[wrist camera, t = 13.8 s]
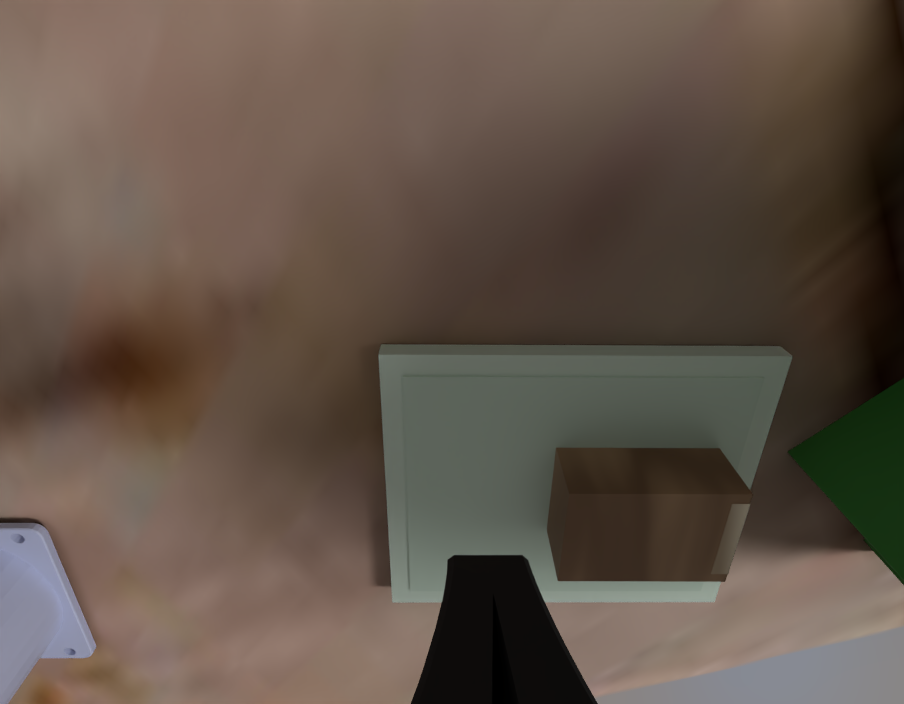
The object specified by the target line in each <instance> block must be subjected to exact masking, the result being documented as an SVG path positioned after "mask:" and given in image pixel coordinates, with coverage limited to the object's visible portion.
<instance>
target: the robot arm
mask: <svg viewBox="0 0 904 704" xmlns="http://www.w3.org/2000/svg"><path fill="white" fill-rule="evenodd" d="M95 648H96V644H95V642H94V639H93V637H92V634H91V632H90V630H89V627H88V625H87V623H86V620H85V618H84V615H83V613H82V611H81V608H80V606H79V604H78V601H77V599H76V597H75V594H74V592H73V589H72V587H71V585H70V582H69V580H68V578H67V575H66V573H65V571H64V568H63V566H62V563H61V561H60V559H59V556H58V554H57V552H56V549H55V547H54V544H53V542H52V540H51V537H50V535H49V533H48V531H47V529H46V528H45V527H44V526H42V525H40V524H37V523H0V704H8V703H9V701H10V700H11V698H12V697H13V696H14V694H15V693H16V691H17V690H18V688H19V687H20V686H21V684H22V683H23V681H24V680H25V678H26V677H27V676H28V674H29V673H30V671H31V670H32V668H33V667H34V665H35V664H36V663H37V661H38V660H39V658H87V657H89V656H91V655H92V653H93V652H94V650H95ZM411 704H598V703H597V702H596V700H595V698H594V696H593V695H592V693H591V691H590V689H589V688H588V686H587V684H586V682H585V681H584V679H583V677H582V675H581V673H580V671H579V669H578V668H577V666H576V664H575V662H574V660H573V658H572V656H571V655H570V653H569V651H568V649H567V647H566V645H565V643H564V641H563V639H562V637H561V635H560V633H559V631H558V629H557V627H556V625H555V623H554V621H553V619H552V617H551V615H550V613H549V610H548V608H547V606H546V604H545V602H544V599H543V597H542V595H541V593H540V590H539V588H538V585H537V583H536V580H535V578H534V575H533V573H532V570H531V567H530V564H529V561H528V559H526V558H525V557H524V556H523V555H453V556H452V557H451V558H449V559H448V560H447V576H446V582H445V589H444V594H443V599H442V604H441V608H440V612H439V616H438V620H437V625H436V628H435V632H434V635H433V638H432V642H431V645H430V648H429V652H428V655H427V658H426V662H425V665H424V668H423V671H422V674H421V677H420V680H419V683H418V686H417V688H416V691H415V694H414V697H413V699H412V702H411Z"/></svg>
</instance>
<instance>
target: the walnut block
mask: <svg viewBox="0 0 904 704" xmlns="http://www.w3.org/2000/svg"><path fill="white" fill-rule="evenodd" d="M752 497H753V494H752V492H751V491H750V489H749V488H748V487H747V485H746V484H745V483H744V481H743V480H742V478H741V477H740V476H739V474H738V473H737V472H736V470H735V469H734V467H733V466H732V465H731V463H730V462H729V460H728V459H727V458H726V456H725V455H724V454H723V452H722V451H721V449H720V448H556V452H555V461H554V470H553V479H552V487H551V496H550V505H549V514H548V523H547V534H548V538H549V543H550V548H551V552H552V557H553V562H554V566H555V571H556V576H557V580H558V581H659V582H725V580H726V577H727V574H728V572H729V569H730V566H731V563H732V560H733V557H734V554H735V551H736V548H737V544H738V541H739V538H740V535H741V532H742V529H743V526H744V523H745V520H746V517H747V514H748V510H749V507H750V503H751V500H752Z"/></svg>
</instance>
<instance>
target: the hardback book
mask: <svg viewBox="0 0 904 704" xmlns="http://www.w3.org/2000/svg"><path fill="white" fill-rule="evenodd" d="M788 453H789V454H790V455H791V456H792V458H793V459H794V460H795V461H796V462H797V463H798V465H799V466H800V467H801V468H802V469H803V470H804V471H805V472H806V473H807V475H808V476H809V477H810V478H811V479H812V480H813V481H814V482H815V483H816V485H817V486H818V487H819V488H820V489H821V490H822V491H823V492H824V493H825V494H826V496H827V497H828V498H829V499H830V500H831V501H832V502H833V503H834V504H835V506H836V507H837V508H838V509H839V510H840V511H841V512H842V513H843V514H844V516H845V517H846V518H847V519H848V520H849V521H850V522H851V523H852V524H853V525H854V527H855V528H856V529H857V530H858V531H859V532H860V533H861V534H862V535H863V537H864V538H865V539H864V541H865V542H866V543H867V544H868V546H869V547H870V548H871V549H872V550H873V551H874V552H875V554H876V555H877V556H878V557H879V558H880V559H881V560H882V561H883V562H884V564H885V565H886V566H887V567H888V568H889V569H890V570H891V571H892V572H893V574H894V575H895V576H896V577H897V578H898V579H899V580H900V581H901V583H902V584H903V585H904V378H903V379H902V380H900V381H898V382H897V383H895V384H894V385H892V386H890V387H889V388H887V389H886V390H884V391H883V392H881V393H879V394H878V395H876V396H875V397H873V398H872V399H870V400H868V401H867V402H865V403H864V404H862V405H861V406H859V407H857V408H856V409H854V410H853V411H851V412H850V413H848V414H846V415H845V416H843V417H842V418H840V419H838V420H837V421H835V422H834V423H832V424H831V425H829V426H827V427H826V428H824V429H823V430H821V431H820V432H818V433H816V434H815V435H813V436H812V437H810V438H809V439H807V440H805V441H804V442H802V443H801V444H799V445H797V446H796V447H794V448H793V449H791V450H790V451H788Z"/></svg>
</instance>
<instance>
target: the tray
mask: <svg viewBox="0 0 904 704" xmlns="http://www.w3.org/2000/svg"><path fill="white" fill-rule="evenodd" d="M378 356H379V374H380V391H381V409H382V427H383V445H384V462H385V480H386V498H387V516H388V533H389V551H390V569H391V587H392V602H442V599H443V594H444V589H445V582H446V576H447V560H448V559H449V558H451V557H452V556H453V555H523V556H524V557H525V558H526V559H528V561H529V564H530V567H531V570H532V573H533V575H534V578H535V580H536V583H537V585H538V588H539V590H540V593H541V595H542V597H543V599H544V602H715V599H716V596H717V593H718V589H719V586H720V583H721V582H659V581H558V580H557V576H556V571H555V566H554V562H553V557H552V552H551V548H550V543H549V538H548V534H547V523H548V514H549V505H550V496H551V487H552V479H553V470H554V461H555V452H556V448H720V449H721V451H722V452H723V454H724V455H725V456H726V458H727V459H728V460H729V462H730V463H731V465H732V466H733V467H734V469H735V470H736V472H737V473H738V474H739V476H740V477H741V478H742V480H743V481H744V483H745V484H746V485H747V487H748V488H749V489H751V486H752V483H753V480H754V476H755V473H756V470H757V467H758V464H759V461H760V458H761V454H762V451H763V448H764V445H765V442H766V439H767V436H768V433H769V429H770V426H771V423H772V420H773V417H774V414H775V411H776V407H777V404H778V401H779V398H780V395H781V392H782V389H783V385H784V382H785V379H786V376H787V373H788V370H789V367H790V363H791V360H792V357H793V356H792V355H790V354H789V353H788V352H787V351H786V350H784V349H783V348H782V347H781V346H661V345H436V344H381V346H380V350H379V354H378Z"/></svg>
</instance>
